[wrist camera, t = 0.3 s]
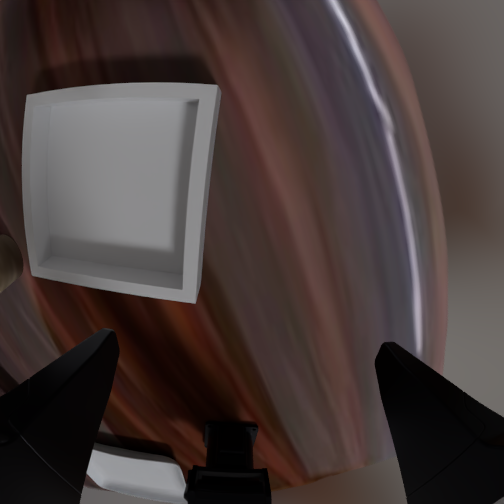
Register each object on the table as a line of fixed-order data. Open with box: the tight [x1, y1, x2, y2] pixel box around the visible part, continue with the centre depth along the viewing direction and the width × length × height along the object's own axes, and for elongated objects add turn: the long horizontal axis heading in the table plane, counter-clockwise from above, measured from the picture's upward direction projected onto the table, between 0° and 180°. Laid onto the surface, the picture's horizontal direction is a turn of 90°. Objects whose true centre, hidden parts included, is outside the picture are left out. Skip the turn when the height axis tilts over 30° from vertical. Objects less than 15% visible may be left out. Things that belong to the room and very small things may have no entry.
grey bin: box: [22, 82, 221, 303], centre depth 19 cm, size 15×15×3 cm
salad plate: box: [87, 443, 188, 504], centre depth 37 cm, size 21×21×3 cm
